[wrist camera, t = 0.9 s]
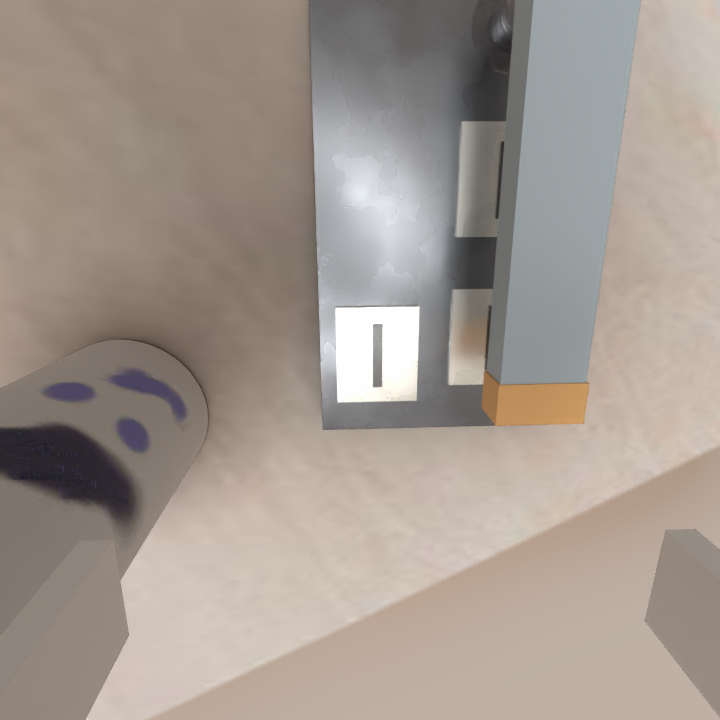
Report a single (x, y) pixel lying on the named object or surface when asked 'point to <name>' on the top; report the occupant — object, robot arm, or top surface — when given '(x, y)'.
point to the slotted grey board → (406, 207)
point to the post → (501, 28)
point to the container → (90, 458)
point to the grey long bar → (555, 204)
